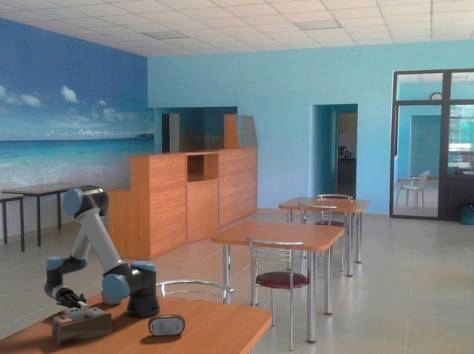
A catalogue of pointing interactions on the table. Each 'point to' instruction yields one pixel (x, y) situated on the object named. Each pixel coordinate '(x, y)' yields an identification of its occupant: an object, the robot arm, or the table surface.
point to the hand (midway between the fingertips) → (85, 308)
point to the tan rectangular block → (62, 320)
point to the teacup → (108, 300)
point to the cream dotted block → (95, 312)
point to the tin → (166, 325)
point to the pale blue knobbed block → (75, 314)
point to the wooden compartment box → (82, 329)
